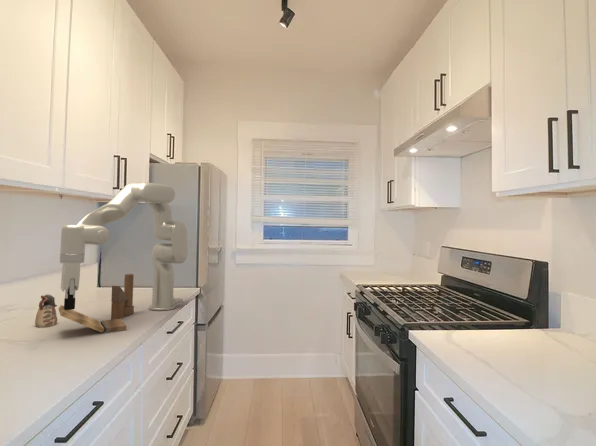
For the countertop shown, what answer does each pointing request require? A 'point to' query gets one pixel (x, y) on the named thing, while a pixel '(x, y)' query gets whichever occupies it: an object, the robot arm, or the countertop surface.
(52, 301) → the figurine
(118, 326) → the brown flat block
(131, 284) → the wooden block stack
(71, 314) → the oak plank
